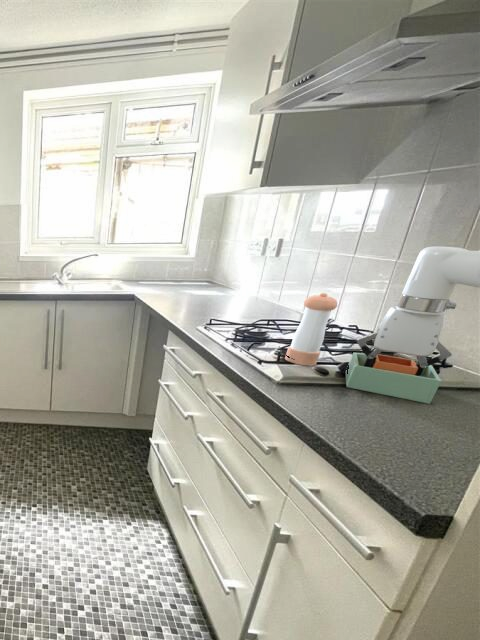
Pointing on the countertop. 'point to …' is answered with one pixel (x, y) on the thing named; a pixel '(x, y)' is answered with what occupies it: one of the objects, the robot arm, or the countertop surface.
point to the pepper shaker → (311, 330)
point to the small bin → (395, 364)
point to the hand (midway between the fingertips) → (388, 376)
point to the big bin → (392, 381)
